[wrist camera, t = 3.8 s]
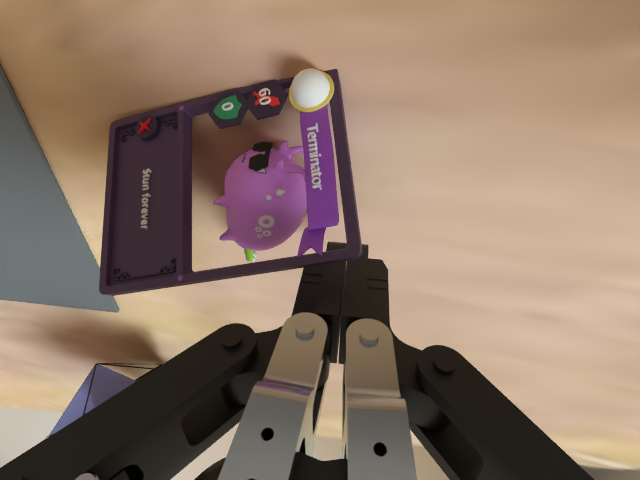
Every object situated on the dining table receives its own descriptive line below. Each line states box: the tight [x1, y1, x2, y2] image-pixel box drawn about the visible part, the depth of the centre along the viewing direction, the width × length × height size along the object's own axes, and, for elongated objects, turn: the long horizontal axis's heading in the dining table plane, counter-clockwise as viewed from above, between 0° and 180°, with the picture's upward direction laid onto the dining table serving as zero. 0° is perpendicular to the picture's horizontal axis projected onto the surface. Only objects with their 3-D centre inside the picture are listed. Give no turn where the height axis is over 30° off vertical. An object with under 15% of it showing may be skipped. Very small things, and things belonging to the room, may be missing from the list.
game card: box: [99, 68, 362, 296], centre depth 14 cm, size 7×5×9 cm
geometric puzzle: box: [46, 362, 164, 438], centre depth 21 cm, size 7×7×8 cm
